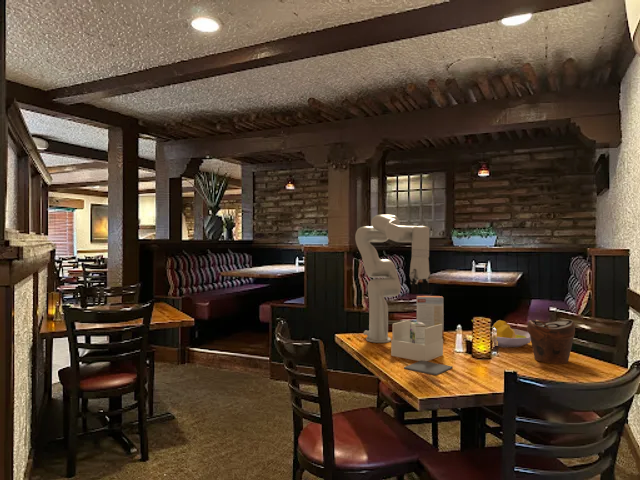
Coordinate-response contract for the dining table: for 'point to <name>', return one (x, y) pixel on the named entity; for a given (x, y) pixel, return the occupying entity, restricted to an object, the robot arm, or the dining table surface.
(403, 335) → the carton
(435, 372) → the mat
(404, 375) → the dining table surface
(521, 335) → the fruit bowl
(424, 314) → the cracker box
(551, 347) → the brown flower pot
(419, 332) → the syrup box
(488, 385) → the dining table surface
